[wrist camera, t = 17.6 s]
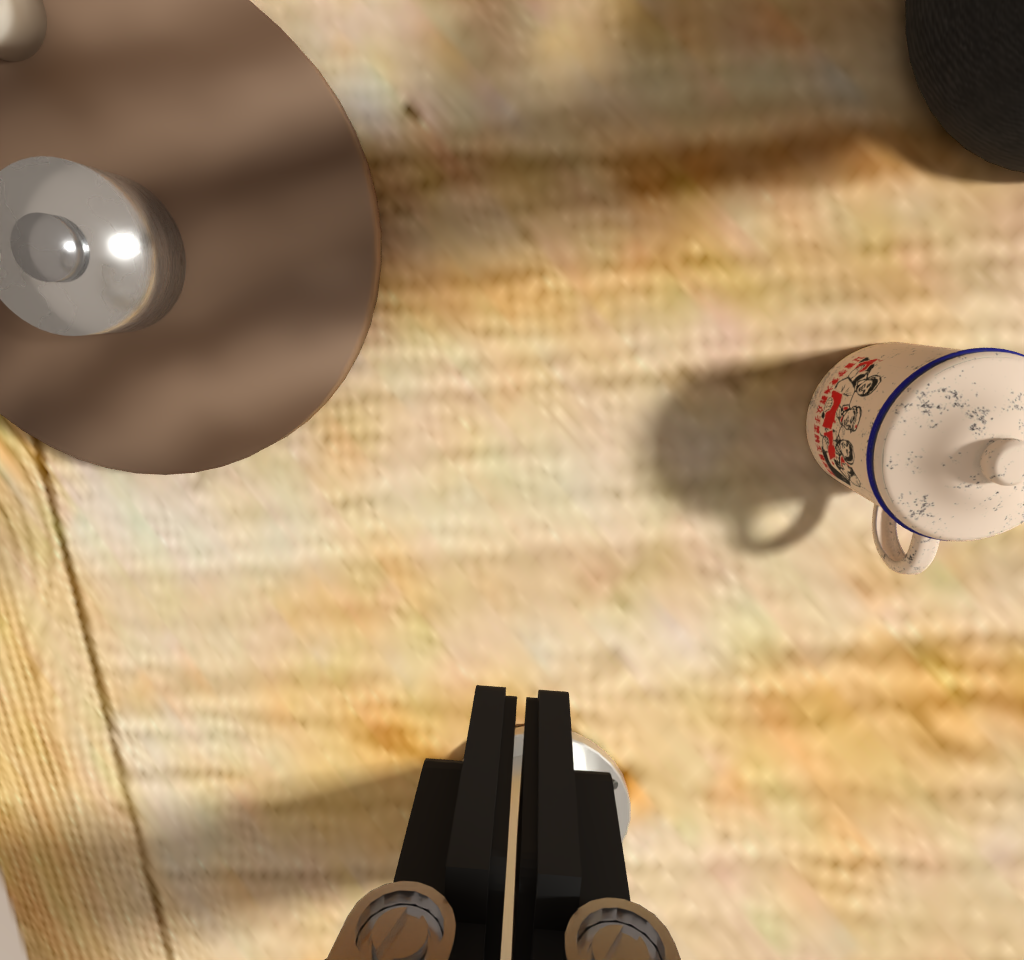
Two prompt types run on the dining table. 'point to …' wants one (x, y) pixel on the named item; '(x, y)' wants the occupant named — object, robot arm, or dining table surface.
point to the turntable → (193, 228)
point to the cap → (85, 249)
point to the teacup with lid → (925, 442)
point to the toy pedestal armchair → (972, 72)
